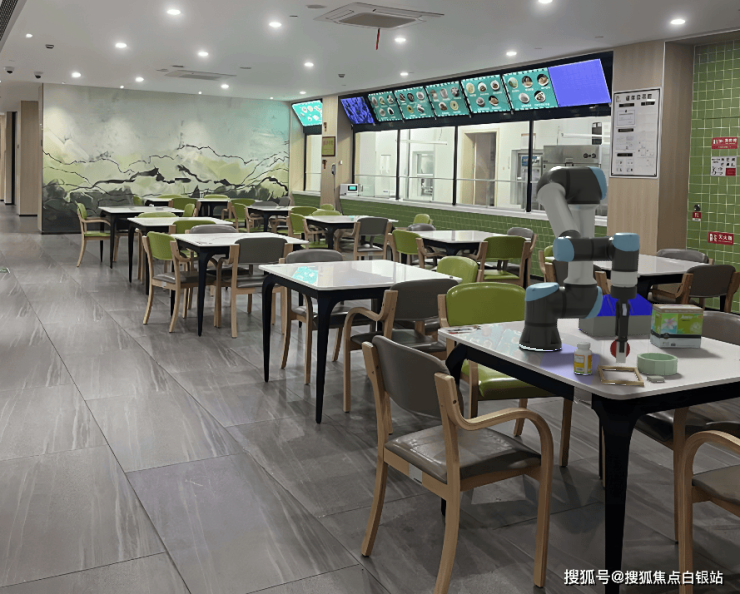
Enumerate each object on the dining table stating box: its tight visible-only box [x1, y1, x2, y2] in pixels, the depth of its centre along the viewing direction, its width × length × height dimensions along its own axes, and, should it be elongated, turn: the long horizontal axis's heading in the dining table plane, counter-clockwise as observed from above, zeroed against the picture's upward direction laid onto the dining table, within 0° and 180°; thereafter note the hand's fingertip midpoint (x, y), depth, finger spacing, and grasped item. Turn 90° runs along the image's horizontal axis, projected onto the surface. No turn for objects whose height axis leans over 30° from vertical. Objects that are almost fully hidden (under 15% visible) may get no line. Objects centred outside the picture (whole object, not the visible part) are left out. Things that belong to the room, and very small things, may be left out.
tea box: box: [649, 303, 705, 349], centre depth 264 cm, size 15×10×15 cm
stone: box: [646, 375, 666, 383], centre depth 217 cm, size 4×3×2 cm
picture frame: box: [597, 365, 645, 387], centre depth 221 cm, size 12×19×1 cm, turn 166°
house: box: [577, 293, 653, 337], centre depth 291 cm, size 25×16×16 cm, turn 95°
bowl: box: [636, 352, 679, 376], centre depth 228 cm, size 12×12×4 cm
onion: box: [609, 338, 631, 359], centre depth 220 cm, size 6×6×8 cm
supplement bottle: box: [573, 341, 593, 375], centre depth 225 cm, size 5×5×10 cm
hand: (619, 359), depth 221 cm, fingers closed on onion, 6 cm apart
